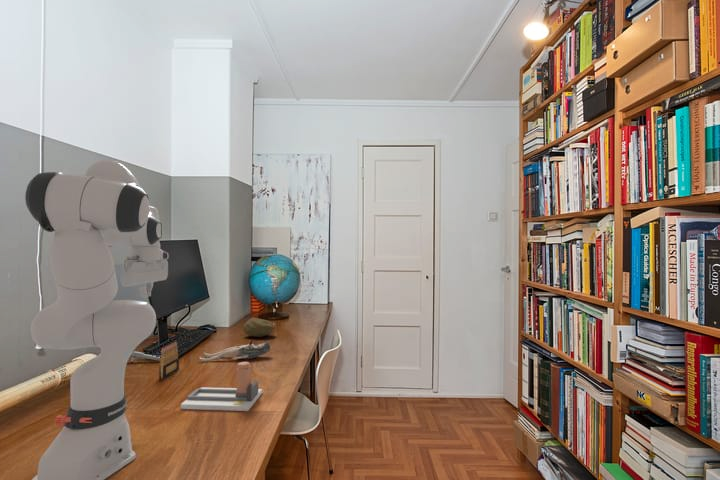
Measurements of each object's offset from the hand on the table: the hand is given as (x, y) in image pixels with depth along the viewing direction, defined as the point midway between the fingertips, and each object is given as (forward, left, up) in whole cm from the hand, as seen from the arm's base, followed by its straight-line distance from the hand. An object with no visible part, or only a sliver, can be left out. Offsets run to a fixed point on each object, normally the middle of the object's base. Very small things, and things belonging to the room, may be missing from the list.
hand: (145, 296), depth 129 cm
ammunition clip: (+26, +7, -35) cm, 44 cm away
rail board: (+3, -25, -35) cm, 43 cm away
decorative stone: (+85, -10, -35) cm, 93 cm away
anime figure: (+47, -12, -36) cm, 60 cm away
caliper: (+40, +24, -36) cm, 59 cm away
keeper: (+3, -32, -34) cm, 46 cm away
